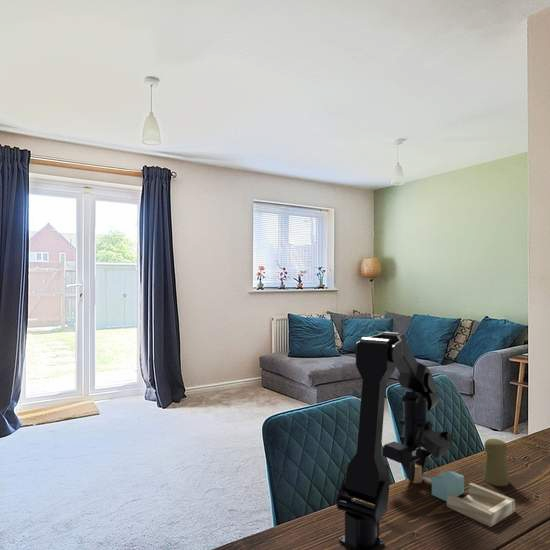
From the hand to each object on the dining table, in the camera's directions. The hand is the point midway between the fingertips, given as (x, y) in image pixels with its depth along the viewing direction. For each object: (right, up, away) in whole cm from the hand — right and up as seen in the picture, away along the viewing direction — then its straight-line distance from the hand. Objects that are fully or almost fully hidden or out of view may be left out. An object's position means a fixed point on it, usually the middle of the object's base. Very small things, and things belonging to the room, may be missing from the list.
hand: (415, 479), depth 113 cm
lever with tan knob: (+3, -1, -4) cm, 5 cm away
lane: (+10, -1, -14) cm, 17 cm away
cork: (+20, -1, 0) cm, 20 cm away
